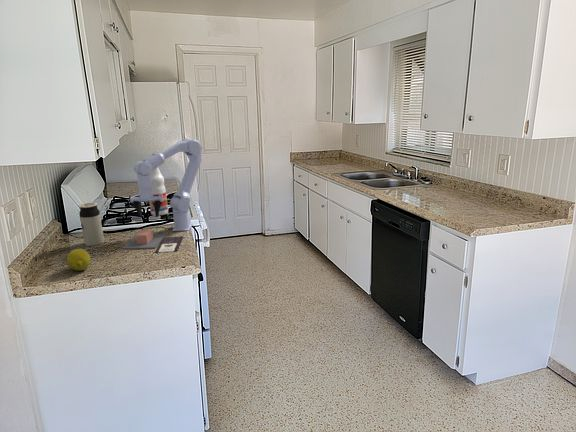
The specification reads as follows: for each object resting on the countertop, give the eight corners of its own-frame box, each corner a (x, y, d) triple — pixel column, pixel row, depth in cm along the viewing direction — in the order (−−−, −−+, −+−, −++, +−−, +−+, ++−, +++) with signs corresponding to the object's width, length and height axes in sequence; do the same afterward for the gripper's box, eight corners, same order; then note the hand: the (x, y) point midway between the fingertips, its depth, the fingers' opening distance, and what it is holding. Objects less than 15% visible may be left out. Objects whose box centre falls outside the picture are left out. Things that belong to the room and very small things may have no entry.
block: (147, 243, 173) (146, 235, 172) (137, 244, 173) (135, 235, 172) (153, 237, 181) (152, 229, 180) (143, 238, 181) (142, 229, 180)
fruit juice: (165, 210, 229) (159, 162, 221) (170, 213, 222) (165, 164, 214) (148, 213, 224) (142, 164, 216) (153, 216, 217) (147, 166, 209)
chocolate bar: (183, 236, 182) (177, 250, 165) (183, 238, 183) (177, 252, 165) (163, 237, 181) (155, 251, 164) (163, 239, 182) (155, 254, 165)
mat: (137, 235, 186) (137, 234, 186) (167, 234, 186) (166, 233, 186) (122, 249, 169) (122, 248, 169) (155, 248, 169) (154, 247, 169)
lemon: (91, 272, 147) (87, 252, 144) (67, 276, 144) (63, 256, 142) (92, 262, 156) (89, 243, 154) (70, 265, 153) (66, 246, 151)
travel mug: (104, 239, 183) (98, 201, 178) (103, 244, 176) (97, 205, 171) (85, 241, 180) (78, 203, 175) (84, 247, 173) (76, 207, 168)
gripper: (125, 190, 175) (130, 219, 179) (158, 189, 175) (162, 218, 179) (131, 186, 182) (135, 215, 186) (163, 186, 182) (166, 214, 186)
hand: (149, 216), depth 183 cm, fingers open, 7 cm apart
